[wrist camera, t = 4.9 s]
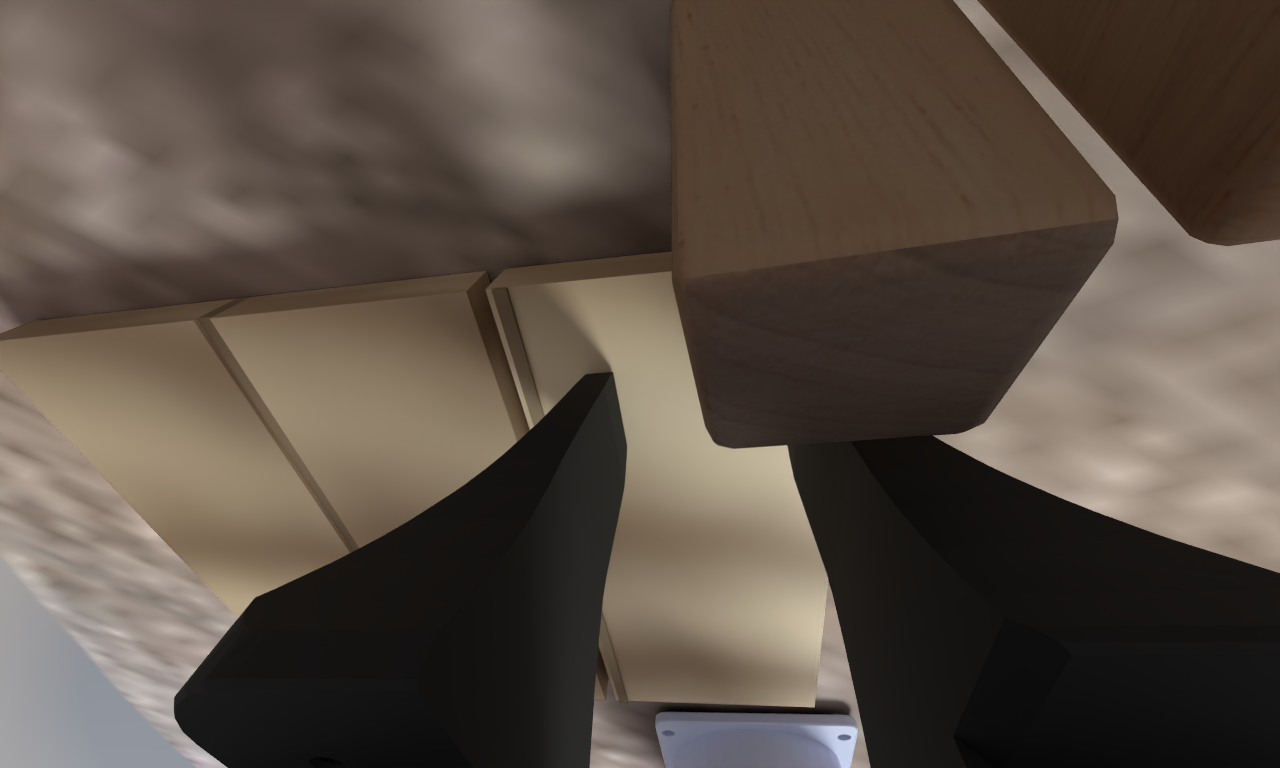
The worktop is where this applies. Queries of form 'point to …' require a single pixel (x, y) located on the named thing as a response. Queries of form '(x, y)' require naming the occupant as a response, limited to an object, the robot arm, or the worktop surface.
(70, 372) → the floor panel
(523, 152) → the worktop surface
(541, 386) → the oak plank
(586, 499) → the robot arm
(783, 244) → the wooden block set
